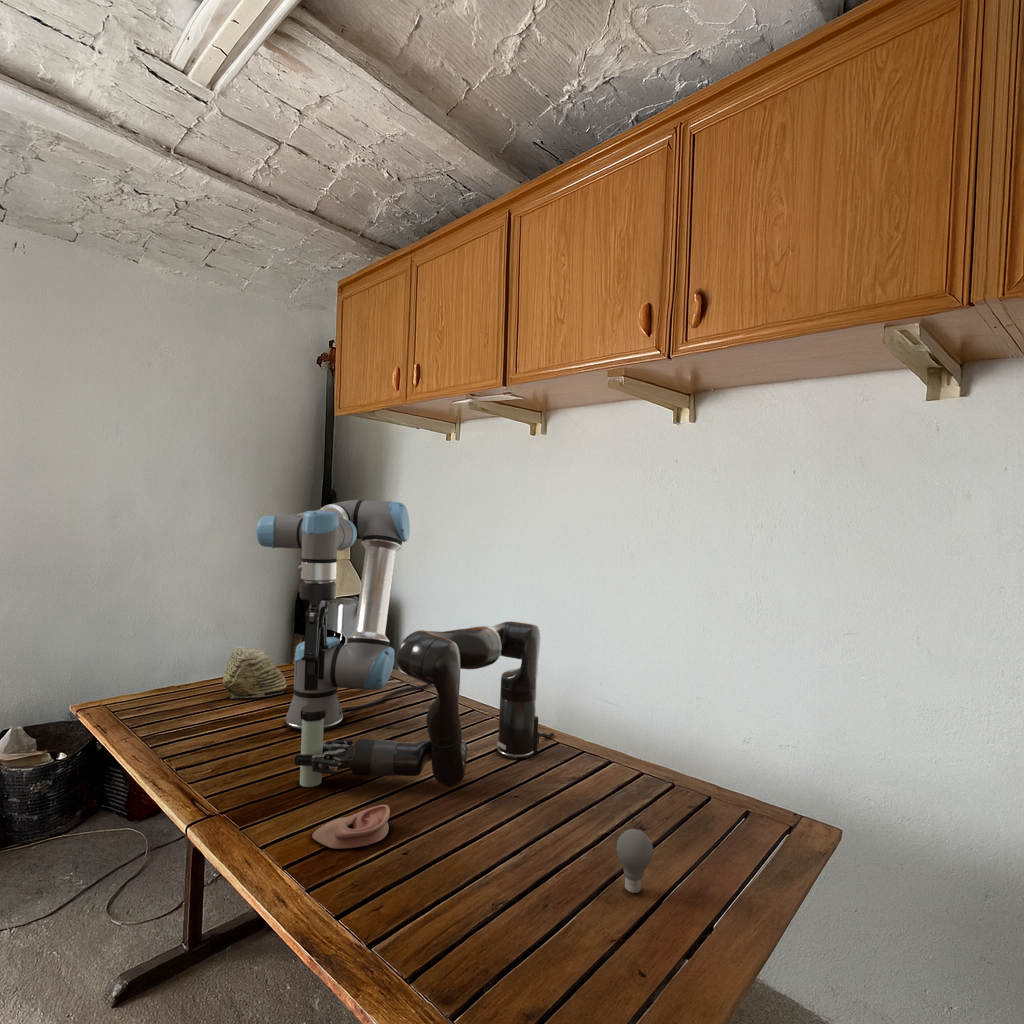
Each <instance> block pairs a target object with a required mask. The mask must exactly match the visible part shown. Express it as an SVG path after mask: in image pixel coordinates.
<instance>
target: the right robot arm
mask: <svg viewBox="0 0 1024 1024" xmlns="http://www.w3.org/2000/svg"><path fill="white" fill-rule="evenodd" d="M541 648H542V632H541V628H540V626H539V625H537V624H534V623H528V622H521V621H512V620H511V621H510V620H509V621H503V622H500V623H498V624H495V625H492V626H489V625H480V626H479V625H477V626H471V627H465V628H458V629H451V630H446V631H445V630H444V631H436V630H425V629H423V630H421V629H420V630H416V631H414V632H411V633H410V634H408V635H407V636H406V637H405V638H403V640H402V641H401V642H400V645H399V646H398V649H397V651H396V663H397V666H398V667H399V669H400V670H401V671H402V672H403V673H404V674H405V675H406V676H409V677H411V678H413V679H415V680H418V681H420V682H423V683H426V684H431V685H430V686H433V687H435V690H436V692H437V697H436V699H435V700H434V701H433V702H432V703H431V705H430V706H429V708H428V711H427V714H426V728H427V732H428V738H429V739H424V740H422V741H417V742H415V741H413V742H412V741H396V740H390V739H372V738H371V739H370V738H368V739H367V738H358V739H356V741H355V742H354V740H353V739H334V740H332V739H331V740H326V741H325V742H323V754H319V755H308V754H301V753H297V754H296V755H295V756H294V765H295V766H297V767H298V766H299V767H300V766H312V771H313V772H319V773H322V774H325V775H331V776H337V775H339V770H345V769H348V768H349V769H351V774H352V775H354V776H363V777H364V776H365V777H392V776H397V777H418V776H420V775H421V773H422V772H423V770H424V767H425V766H426V764H427V763H429V762H431V769H432V770H431V771H432V775H433V778H434V779H435V780H436V782H437V783H438V784H439V785H441V786H443V787H447V788H453V787H455V786H458V785H459V784H461V782H462V781H463V780H464V778H465V776H466V770H467V759H468V745H467V743H466V742H465V740H464V739H463V730H462V724H461V723H462V722H461V718H460V709H459V707H460V706H459V705H460V703H459V702H460V689H461V670H478V669H482V668H486V667H489V666H491V665H493V664H495V663H496V662H497V661H498V660H499V658H500V657H504V658H507V659H516V660H521V662H520V666H519V667H518V668H512V669H508V670H506V671H504V672H502V674H501V675H500V693H499V716H498V736H497V737H498V738H497V743H496V744H497V753H498V754H499V755H500V756H502V757H504V758H507V759H513V760H523V759H527V758H530V757H532V756H534V755H537V754H538V745H540V738H544V739H546V740H548V739H550V738H552V737H554V736H555V732H553V731H552V732H550V733H548V734H547V733H546V732H540V731H539V716H538V715H536V711H537V710H536V709H537V691H538V689H537V687H538V676H539V671H540V659H541ZM321 767H322V768H321Z"/></svg>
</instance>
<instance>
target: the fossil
mask: <svg viewBox="0 0 1024 1024" xmlns="http://www.w3.org/2000/svg"><path fill="white" fill-rule="evenodd" d="M222 676H223V677H222V685H223V687H224V688H225V690H226V691H228V693H229V698H230V699H250V698H264V697H271V696H275V695H281V694H284V693H285V691H286V689H287V687H288V686H287V680H286V678H285V676H284V674H283V673H282V672H281V669H279V668H278V667H277V665H276V663H275V662H274V660H273V659H272V658H271V657H270V656H269V655H268V654H267V653H266V652H265V650H264V649H263V648H260V647H258V648H251V647H247V646H246V647H245V646H238V647H237V648H236V649H235V650H233V651H232V653H231V656H230V657H229V659H228V660H227V663H226V666H225V668H224V671H223V675H222Z"/></svg>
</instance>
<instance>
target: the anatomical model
mask: <svg viewBox="0 0 1024 1024" xmlns="http://www.w3.org/2000/svg"><path fill="white" fill-rule="evenodd" d="M390 816H391V809H390V807H389V805H388V804H380V805H376V806H372V807H368V808H366V809H363V810H361V811H359V812H356V813H353V814H351V815H349V816H346V817H338V818H336V819H333V820H331V821H328V822H326V823H325V824H323V825H322V826H320V827H319V828H317V829H316V830H315V831H314V832H313V833H312V834H311V837H312V839H313V840H315V841H316V842H318V843H319V844H320V845H322V846H325V847H327V848H330V849H334V850H335V849H336V850H341V849H344V850H345V849H353V848H359V847H365V846H369V845H373V844H375V843H378V842H380V841H382V840H384V839H385V838H386V837H387V835H388V833H389V828H390V826H389V825H390V824H389V823H388V821H389V819H390Z"/></svg>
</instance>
